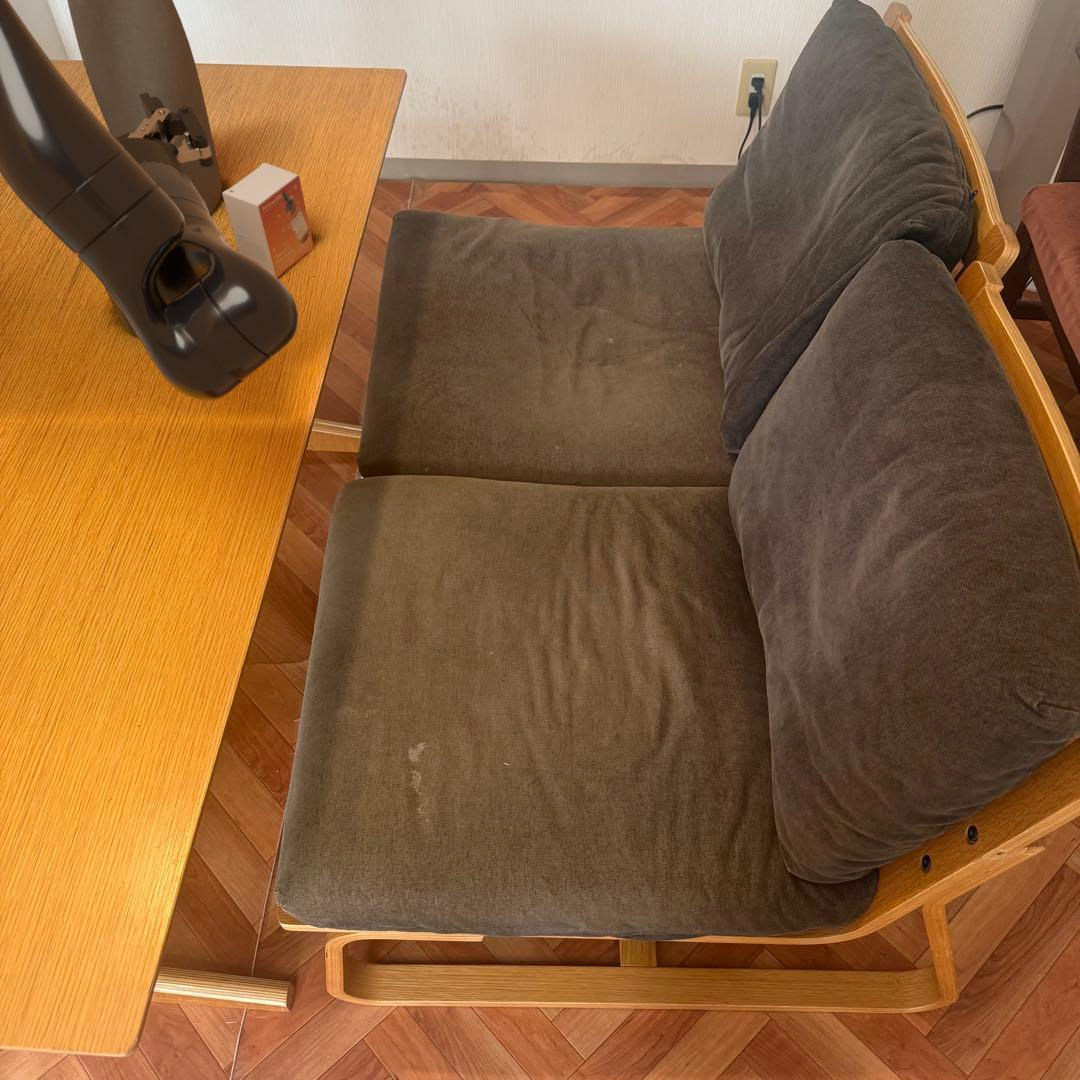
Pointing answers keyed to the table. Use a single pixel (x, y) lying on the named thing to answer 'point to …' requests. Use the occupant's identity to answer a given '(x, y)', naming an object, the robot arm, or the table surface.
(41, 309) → the table surface
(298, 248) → the small box
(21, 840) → the table surface
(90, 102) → the table surface
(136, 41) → the vase
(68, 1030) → the table surface
